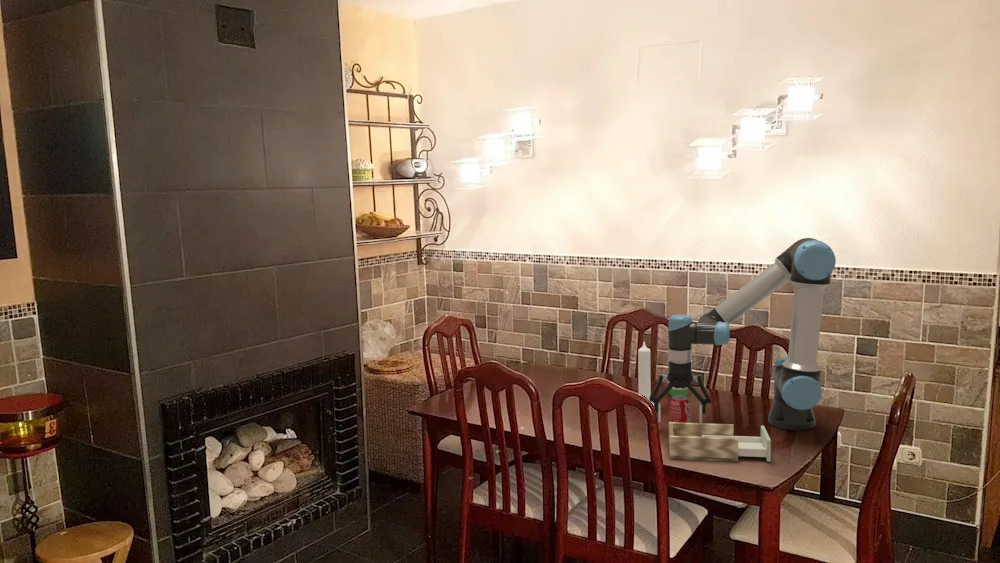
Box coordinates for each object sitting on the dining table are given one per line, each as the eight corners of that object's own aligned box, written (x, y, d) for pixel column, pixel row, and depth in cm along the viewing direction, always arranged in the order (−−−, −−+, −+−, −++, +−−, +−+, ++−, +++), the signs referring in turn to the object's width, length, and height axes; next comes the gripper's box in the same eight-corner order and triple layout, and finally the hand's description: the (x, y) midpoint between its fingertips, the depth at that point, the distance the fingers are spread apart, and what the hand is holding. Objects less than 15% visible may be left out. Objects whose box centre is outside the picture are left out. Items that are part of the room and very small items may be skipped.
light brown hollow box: (732, 445, 228) (733, 424, 227) (738, 461, 214) (738, 439, 213) (668, 442, 232) (668, 422, 231) (669, 458, 218) (669, 436, 217)
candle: (631, 404, 273) (630, 340, 269) (646, 401, 275) (646, 338, 272) (642, 409, 266) (641, 344, 263) (657, 406, 269) (657, 342, 266)
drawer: (763, 445, 225) (764, 425, 224) (770, 461, 213) (770, 440, 212) (701, 443, 229) (701, 423, 228) (704, 458, 217) (704, 437, 216)
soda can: (688, 427, 245) (688, 393, 244) (692, 434, 238) (692, 400, 237) (668, 427, 246) (667, 394, 244) (670, 434, 239) (670, 400, 237)
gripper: (717, 358, 240) (717, 419, 243) (642, 357, 245) (642, 416, 248) (719, 364, 233) (719, 426, 236) (642, 362, 238) (642, 424, 241)
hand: (679, 421), depth 242 cm, fingers open, 13 cm apart
